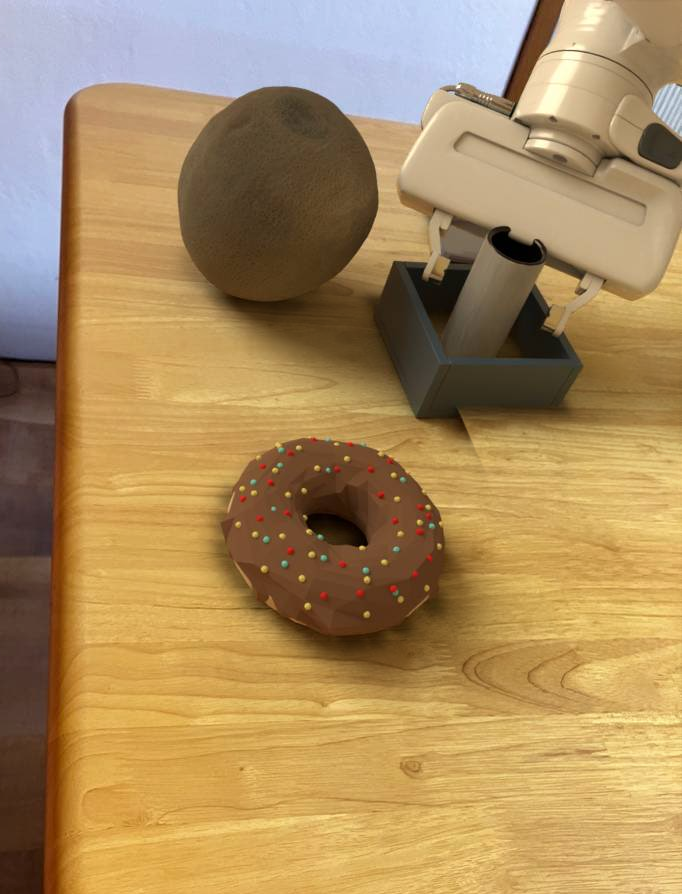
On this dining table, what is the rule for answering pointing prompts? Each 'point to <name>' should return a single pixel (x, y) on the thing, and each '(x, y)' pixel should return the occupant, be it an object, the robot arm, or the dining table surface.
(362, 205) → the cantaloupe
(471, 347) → the beige hollow cylinder
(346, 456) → the donut
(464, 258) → the smartphone
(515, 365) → the bin
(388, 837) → the dining table surface
